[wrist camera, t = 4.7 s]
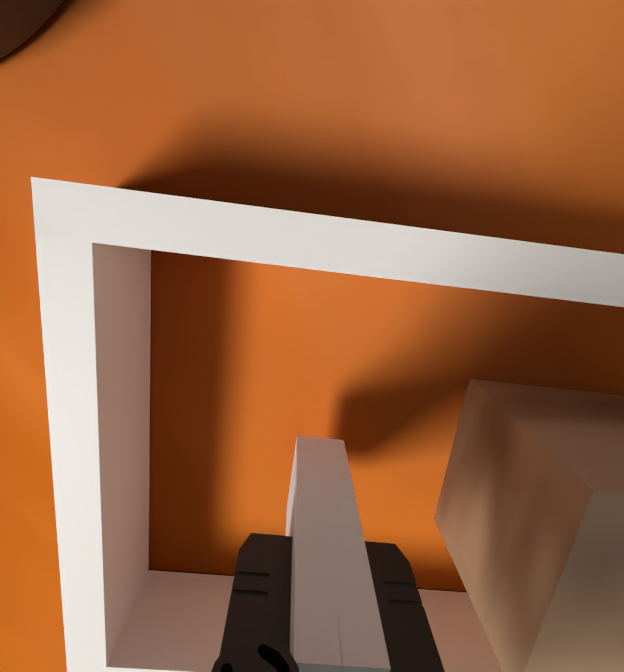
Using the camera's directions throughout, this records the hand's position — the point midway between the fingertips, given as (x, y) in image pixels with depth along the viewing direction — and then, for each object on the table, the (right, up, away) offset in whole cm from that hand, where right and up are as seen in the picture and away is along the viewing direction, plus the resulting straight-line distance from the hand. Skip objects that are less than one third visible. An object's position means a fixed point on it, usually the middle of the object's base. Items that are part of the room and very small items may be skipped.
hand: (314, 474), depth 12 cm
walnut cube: (+8, 0, +2) cm, 8 cm away
